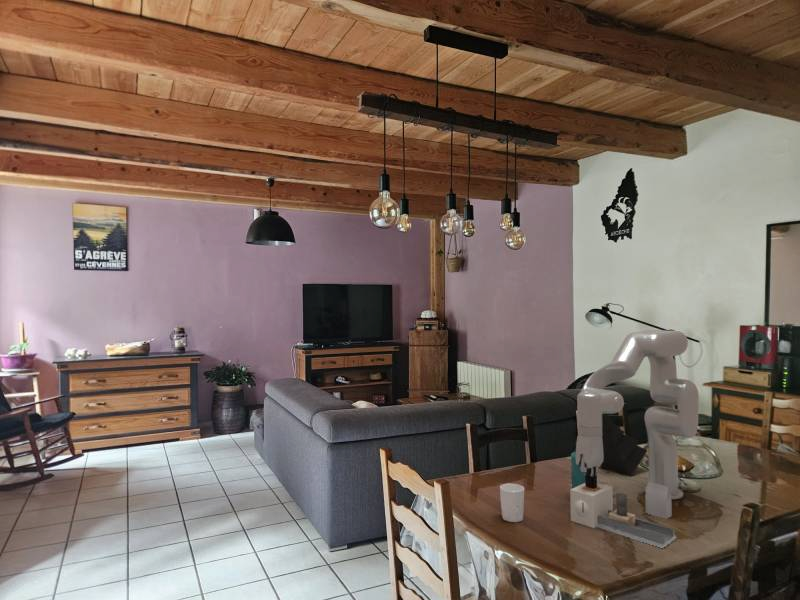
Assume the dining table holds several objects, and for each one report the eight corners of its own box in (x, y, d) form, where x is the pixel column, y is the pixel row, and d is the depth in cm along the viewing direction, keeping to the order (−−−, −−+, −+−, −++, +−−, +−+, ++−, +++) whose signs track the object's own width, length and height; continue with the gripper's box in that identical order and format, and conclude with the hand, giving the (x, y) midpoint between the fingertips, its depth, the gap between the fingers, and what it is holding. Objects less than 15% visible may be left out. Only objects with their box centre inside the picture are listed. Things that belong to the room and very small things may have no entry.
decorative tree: (604, 474, 222) (569, 413, 212) (622, 449, 228) (588, 389, 218) (634, 483, 209) (598, 419, 200) (652, 457, 215) (618, 394, 206)
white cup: (497, 514, 173) (496, 484, 173) (520, 512, 174) (519, 482, 174) (504, 523, 165) (503, 492, 165) (528, 522, 166) (527, 491, 166)
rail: (610, 519, 167) (610, 509, 167) (675, 539, 152) (675, 528, 152) (596, 527, 162) (596, 516, 162) (662, 548, 146) (662, 537, 146)
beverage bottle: (592, 502, 182) (591, 445, 182) (572, 501, 183) (571, 444, 184) (589, 495, 188) (588, 440, 189) (570, 494, 190) (569, 439, 190)
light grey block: (666, 519, 166) (665, 488, 166) (645, 513, 172) (645, 483, 172) (671, 516, 169) (671, 485, 169) (651, 510, 174) (650, 480, 174)
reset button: (589, 496, 170) (588, 484, 170) (600, 499, 167) (600, 487, 167) (582, 499, 168) (582, 487, 168) (594, 502, 165) (593, 490, 165)
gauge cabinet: (590, 510, 174) (589, 480, 175) (613, 517, 168) (612, 486, 169) (570, 521, 166) (569, 489, 167) (593, 528, 160) (592, 496, 160)
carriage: (616, 518, 164) (615, 490, 164) (635, 524, 159) (634, 495, 159) (608, 523, 161) (608, 494, 161) (627, 529, 156) (627, 499, 156)
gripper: (591, 425, 176) (592, 479, 175) (567, 432, 166) (568, 489, 166) (612, 428, 170) (613, 484, 170) (588, 436, 160) (590, 496, 160)
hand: (591, 487), depth 168 cm, fingers closed
